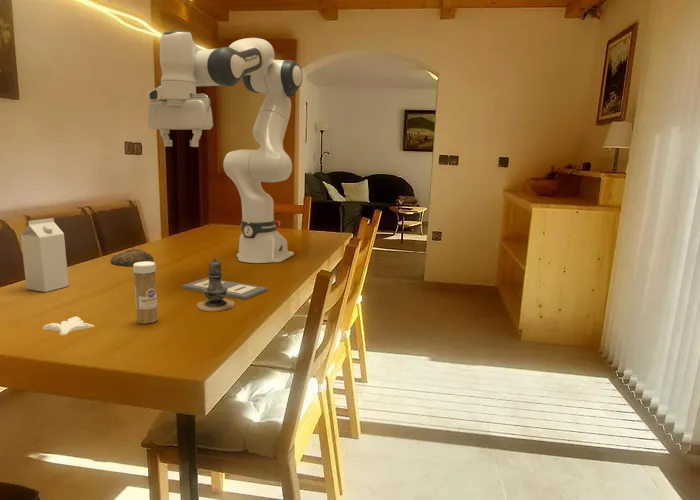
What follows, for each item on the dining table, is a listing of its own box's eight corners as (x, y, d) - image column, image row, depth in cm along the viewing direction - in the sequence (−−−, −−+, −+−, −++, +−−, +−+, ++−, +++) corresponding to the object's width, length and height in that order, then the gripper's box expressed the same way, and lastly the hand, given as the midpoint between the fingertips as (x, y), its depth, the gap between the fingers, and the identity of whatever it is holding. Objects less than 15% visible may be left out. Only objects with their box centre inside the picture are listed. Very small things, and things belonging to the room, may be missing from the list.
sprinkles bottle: (147, 325, 106) (144, 266, 103) (131, 322, 107) (128, 263, 105) (162, 319, 110) (159, 262, 107) (147, 316, 112) (144, 259, 109)
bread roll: (126, 268, 157) (125, 254, 156) (105, 263, 164) (104, 249, 163) (160, 262, 167) (160, 248, 166) (140, 257, 174) (139, 244, 173)
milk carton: (26, 289, 130) (18, 220, 126) (50, 283, 137) (44, 217, 133) (45, 292, 128) (38, 222, 124) (68, 286, 134) (62, 218, 130)
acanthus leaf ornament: (43, 332, 102) (42, 323, 102) (74, 323, 108) (73, 315, 108) (63, 338, 99) (62, 330, 98) (95, 329, 105) (94, 320, 104)
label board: (206, 280, 144) (206, 276, 144) (267, 290, 135) (267, 286, 135) (181, 288, 135) (181, 284, 135) (245, 299, 126) (245, 295, 126)
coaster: (214, 298, 126) (213, 296, 126) (241, 303, 123) (241, 301, 122) (189, 308, 118) (189, 305, 118) (218, 313, 115) (218, 311, 114)
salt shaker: (221, 308, 117) (219, 260, 115) (199, 305, 118) (197, 258, 116) (232, 301, 123) (231, 255, 120) (211, 299, 124) (209, 253, 122)
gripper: (217, 94, 128) (218, 147, 131) (160, 96, 136) (162, 146, 139) (200, 91, 122) (202, 146, 125) (142, 93, 131) (145, 145, 134)
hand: (181, 146), depth 132 cm, fingers open, 8 cm apart
